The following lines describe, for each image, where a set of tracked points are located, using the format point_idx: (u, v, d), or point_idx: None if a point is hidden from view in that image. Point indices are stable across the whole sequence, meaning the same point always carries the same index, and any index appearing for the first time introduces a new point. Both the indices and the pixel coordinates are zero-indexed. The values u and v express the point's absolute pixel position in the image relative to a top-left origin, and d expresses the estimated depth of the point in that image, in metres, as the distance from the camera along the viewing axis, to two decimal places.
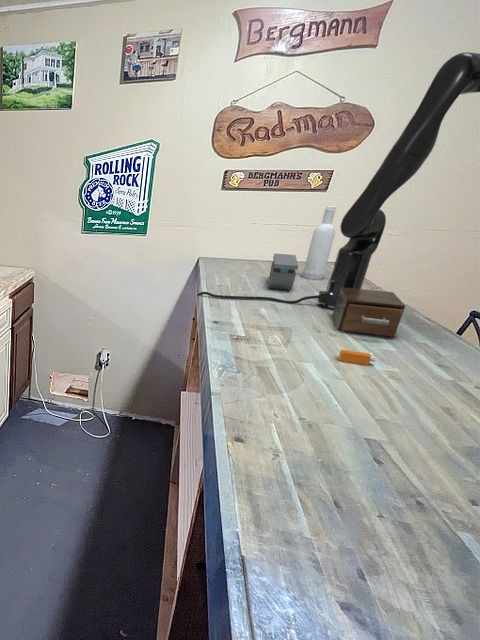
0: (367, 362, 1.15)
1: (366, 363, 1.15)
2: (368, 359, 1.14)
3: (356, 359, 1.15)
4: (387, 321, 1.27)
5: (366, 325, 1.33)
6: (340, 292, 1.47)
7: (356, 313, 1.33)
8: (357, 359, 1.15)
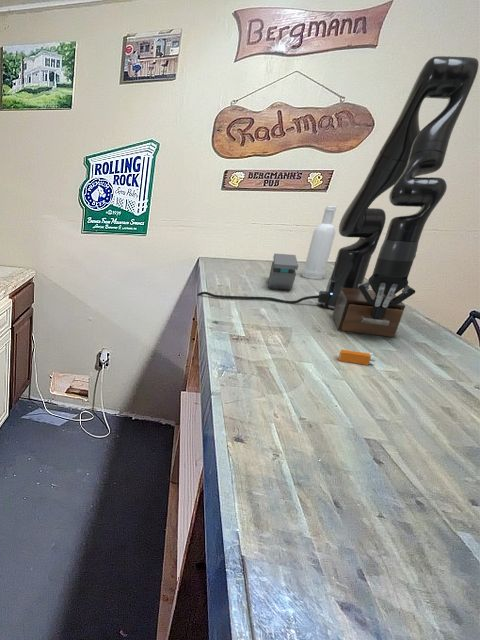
0: (367, 362, 1.15)
1: (366, 363, 1.15)
2: (368, 359, 1.14)
3: (356, 359, 1.15)
4: (387, 321, 1.26)
5: (366, 325, 1.33)
6: (340, 292, 1.47)
7: (356, 313, 1.33)
8: (357, 359, 1.15)
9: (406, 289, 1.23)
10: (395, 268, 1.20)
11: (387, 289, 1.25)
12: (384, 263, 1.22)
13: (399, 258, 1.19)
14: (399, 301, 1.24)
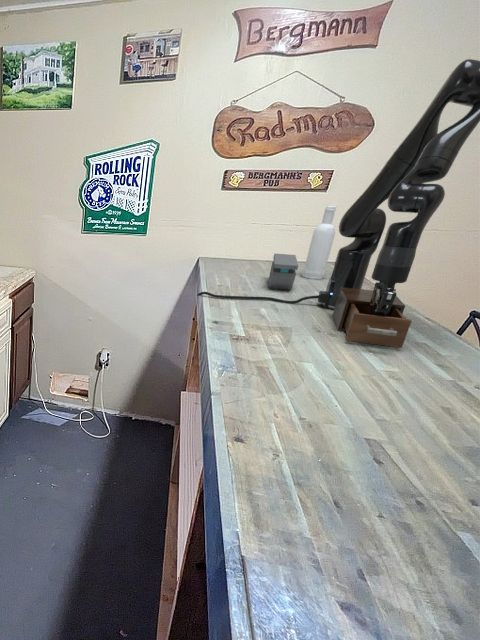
0: None
1: None
2: None
3: None
4: (395, 332, 1.19)
5: (372, 335, 1.25)
6: (340, 292, 1.47)
7: (361, 323, 1.25)
8: None
9: None
10: None
11: None
12: None
13: None
14: (379, 306, 1.23)
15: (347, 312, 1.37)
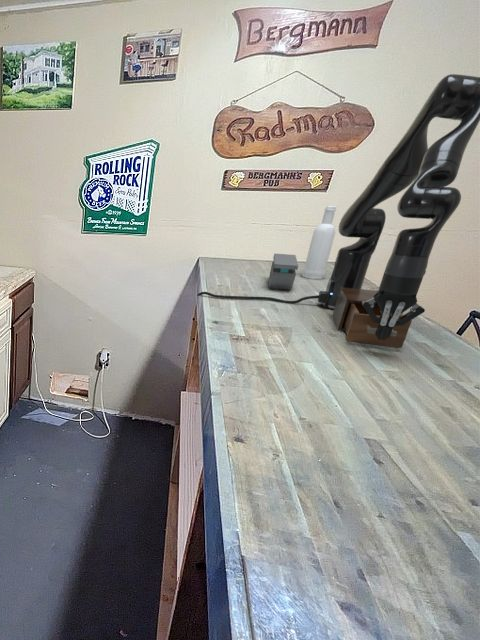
0: None
1: None
2: None
3: None
4: (395, 332, 1.19)
5: (372, 336, 1.25)
6: (340, 292, 1.47)
7: (361, 323, 1.25)
8: None
9: (415, 307, 1.14)
10: (403, 285, 1.11)
11: (394, 307, 1.15)
12: (391, 279, 1.12)
13: (407, 275, 1.10)
14: (407, 320, 1.15)
15: (347, 312, 1.37)
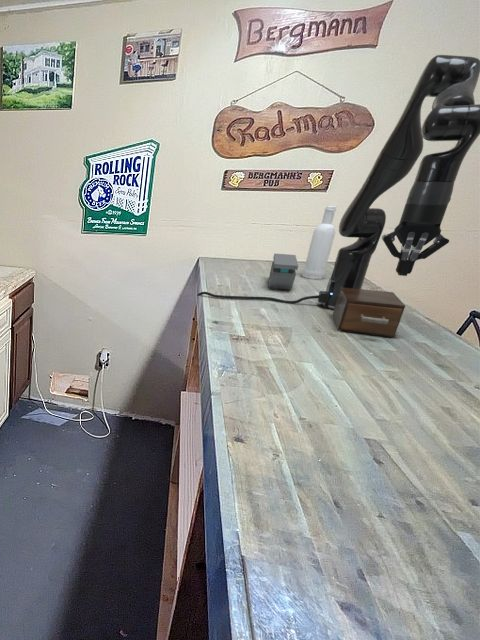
0: None
1: None
2: None
3: None
4: (386, 320, 1.28)
5: (365, 324, 1.34)
6: (340, 292, 1.47)
7: (356, 312, 1.34)
8: None
9: (438, 239, 1.08)
10: (427, 213, 1.05)
11: (416, 239, 1.10)
12: (414, 208, 1.07)
13: (432, 201, 1.04)
14: (430, 253, 1.09)
15: None
